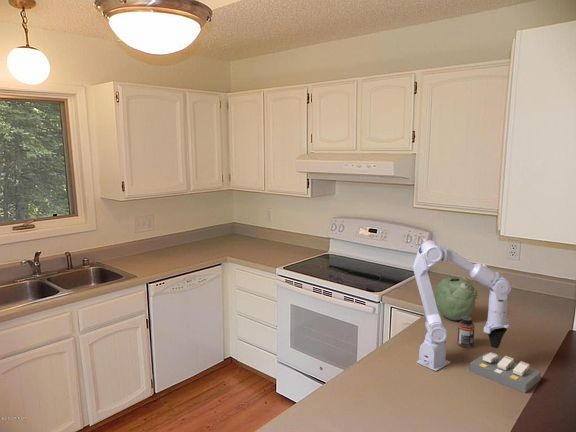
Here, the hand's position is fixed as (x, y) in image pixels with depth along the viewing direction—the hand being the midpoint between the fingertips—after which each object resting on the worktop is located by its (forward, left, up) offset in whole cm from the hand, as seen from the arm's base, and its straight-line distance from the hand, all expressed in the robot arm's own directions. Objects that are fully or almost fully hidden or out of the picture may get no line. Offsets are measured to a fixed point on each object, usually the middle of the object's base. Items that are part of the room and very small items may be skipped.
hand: (494, 347), depth 146 cm
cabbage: (+30, +32, -8) cm, 45 cm away
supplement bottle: (+9, +15, -8) cm, 19 cm away
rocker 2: (-3, -5, -3) cm, 6 cm away
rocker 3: (-3, -10, -3) cm, 11 cm away
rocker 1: (-3, 0, -3) cm, 4 cm away
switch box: (-3, -5, -7) cm, 9 cm away
